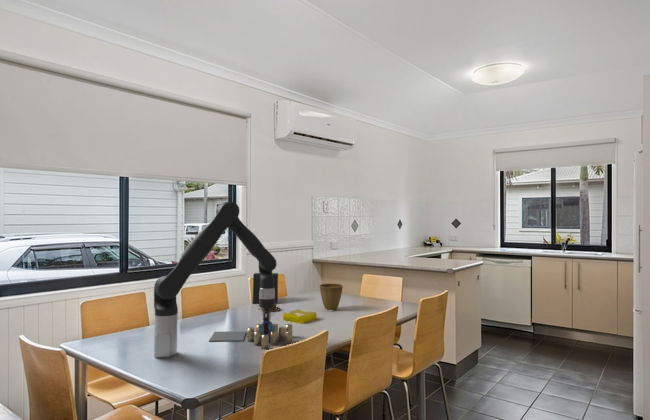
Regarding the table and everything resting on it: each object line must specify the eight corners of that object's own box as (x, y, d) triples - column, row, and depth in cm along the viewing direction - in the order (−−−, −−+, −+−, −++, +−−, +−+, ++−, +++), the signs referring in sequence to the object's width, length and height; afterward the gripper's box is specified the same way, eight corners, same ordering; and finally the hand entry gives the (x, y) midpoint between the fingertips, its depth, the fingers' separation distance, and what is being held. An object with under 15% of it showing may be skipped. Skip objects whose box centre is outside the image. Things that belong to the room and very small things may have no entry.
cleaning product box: (252, 304, 293) (253, 274, 293) (254, 301, 302) (254, 273, 302) (277, 304, 294) (277, 274, 295) (277, 301, 303) (278, 273, 303)
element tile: (317, 320, 252) (317, 311, 252) (301, 324, 239) (301, 316, 240) (298, 316, 260) (298, 308, 260) (281, 320, 248) (281, 312, 248)
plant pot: (319, 307, 285) (320, 283, 285) (342, 307, 285) (342, 283, 285) (318, 312, 270) (319, 286, 271) (342, 312, 270) (342, 287, 270)
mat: (243, 341, 204) (243, 340, 205) (208, 341, 203) (208, 340, 203) (246, 332, 220) (246, 331, 220) (214, 332, 219) (214, 331, 219)
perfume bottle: (273, 338, 210) (273, 314, 210) (272, 342, 203) (272, 317, 204) (260, 338, 209) (261, 314, 210) (259, 342, 203) (259, 317, 203)
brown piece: (287, 311, 273) (287, 302, 273) (264, 317, 257) (264, 307, 257) (268, 307, 284) (268, 299, 284) (245, 312, 268) (245, 303, 268)
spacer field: (292, 349, 193) (292, 335, 194) (244, 349, 192) (244, 336, 192) (291, 332, 222) (292, 320, 222) (249, 332, 220) (250, 321, 220)
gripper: (274, 299, 200) (273, 335, 200) (275, 294, 214) (274, 328, 214) (258, 300, 199) (257, 336, 199) (260, 294, 214) (259, 328, 213)
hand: (266, 331), depth 207 cm, fingers closed on perfume bottle, 6 cm apart
